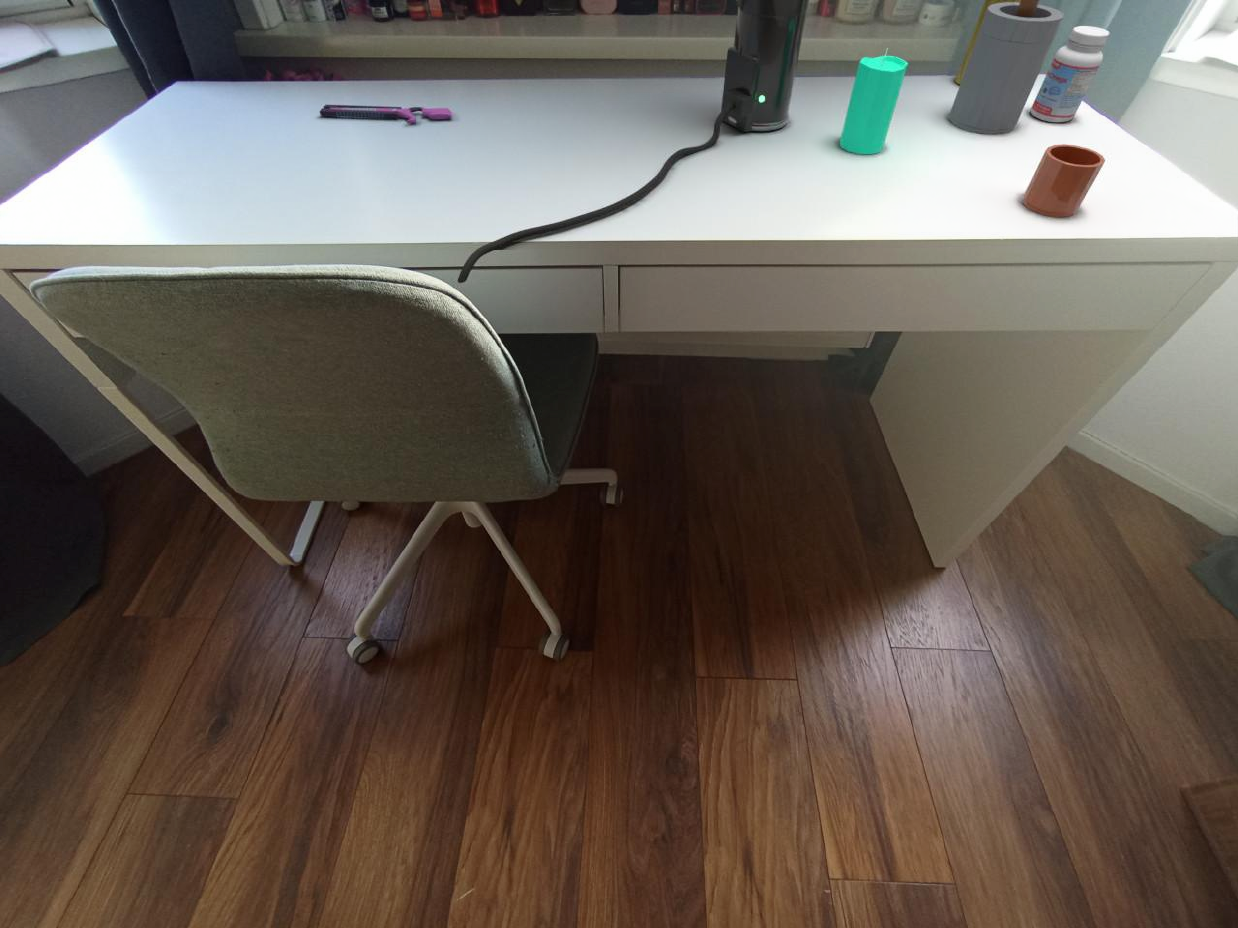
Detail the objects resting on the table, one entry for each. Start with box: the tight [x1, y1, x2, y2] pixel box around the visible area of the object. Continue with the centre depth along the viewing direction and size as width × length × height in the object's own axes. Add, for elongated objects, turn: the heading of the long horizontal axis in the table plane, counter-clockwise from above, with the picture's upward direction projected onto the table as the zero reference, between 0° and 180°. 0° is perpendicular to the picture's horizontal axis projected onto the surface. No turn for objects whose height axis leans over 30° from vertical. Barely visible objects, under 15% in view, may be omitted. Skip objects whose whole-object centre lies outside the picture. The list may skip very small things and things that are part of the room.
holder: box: [1021, 143, 1106, 218], centre depth 76 cm, size 6×6×6 cm
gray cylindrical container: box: [948, 2, 1065, 135], centre depth 91 cm, size 9×9×14 cm
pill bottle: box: [1030, 25, 1110, 123], centre depth 93 cm, size 6×6×11 cm
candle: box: [839, 47, 909, 155], centre depth 86 cm, size 6×6×12 cm
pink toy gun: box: [319, 104, 453, 124], centre depth 97 cm, size 21×1×5 cm
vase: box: [954, 0, 1021, 86], centre depth 102 cm, size 6×6×14 cm
